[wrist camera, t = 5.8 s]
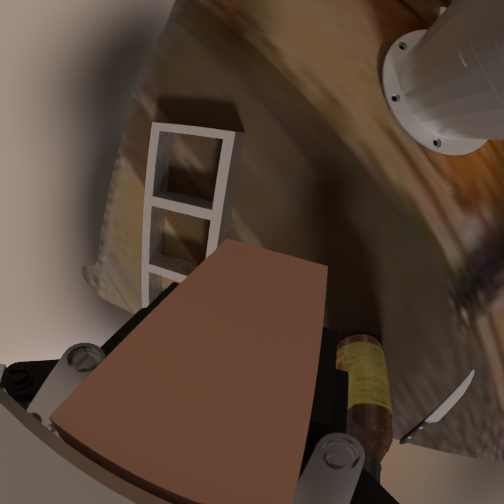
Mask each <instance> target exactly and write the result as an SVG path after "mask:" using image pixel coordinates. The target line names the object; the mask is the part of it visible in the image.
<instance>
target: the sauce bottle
mask: <svg viewBox="0 0 504 504" xmlns="http://www.w3.org/2000/svg"><path fill="white" fill-rule="evenodd" d="M336 369H339V370H344V371H348V374H349V387H348V413H347V429H346V434H348V435H350V436H352V437H354V438H355V439H356V440H357V441H359V442H360V444H361V445H362V447H363V449H364V453H365V460H364V464H363V467H364V468H365V469H366V470H367V471H368V472H369V473H370V474H371V475H372V477H373V478H374V479H375V480H376V481H377V482H378V483H379V484H380V471H381V464H380V462H381V460H382V459H383V457H384V456H385V454H386V452H388V450H389V448H390V445H391V443H392V436H393V430H392V423H391V419H392V408H391V398H390V390H389V381H388V374H387V367H386V361H385V355H384V352H383V349H382V346H381V344H380V342H378V340H377V339H376V338H374V337H373V336H370V335H368V334H355V335H351V336H348V337H346V338H344V339H343V340H342V341H340V343H339V344H338V345H337V356H336Z"/></svg>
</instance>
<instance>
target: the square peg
mask: <svg viewBox="0 0 504 504" xmlns="http://www.w3.org/2000/svg"><path fill="white" fill-rule="evenodd" d="M327 272H328V266H325V265H321V264H318V263H314V262H311V261H307V260H303V259H300V258H296V257H292V256H289V255H285V254H281V253H278V252H274V251H270V250H267V249H263V248H259V247H256V246H252V245H248V244H245V243H241V242H237V241H233V240H230V239H226V240H225V241H224V242H223V243H222V244H221V245H220V246H219V247H218V248H217V249H216V250H215V251H214V252H213V253H212V254H210V255H209V256H208V257H207V258H206V259H205V260H204V261H203V262H202V263H201V264H200V265H199V266H198V267H197V268H196V269H195V270H194V271H193V272H192V273H191V274H190V275H189V276H187V277H186V278H185V279H184V280H183V281H182V282H181V283H180V284H179V285H178V286H177V287H176V288H175V289H174V290H173V291H172V292H171V293H170V294H169V295H168V296H167V297H166V298H165V299H164V300H163V301H162V302H161V303H160V304H159V305H158V306H157V307H156V308H155V309H154V310H153V311H152V312H151V313H150V314H149V315H148V316H147V317H146V318H145V319H144V320H143V321H142V322H141V323H140V324H139V325H138V326H137V327H136V328H135V329H134V330H133V331H132V332H131V333H130V334H129V335H128V336H127V337H126V338H125V339H124V340H123V341H122V342H121V343H120V344H119V345H118V346H117V347H116V348H115V349H114V350H113V351H112V352H111V353H110V354H109V355H108V356H107V357H106V358H105V359H104V360H103V361H102V362H101V363H100V364H99V365H98V366H97V367H96V368H95V369H94V370H93V371H92V372H91V373H90V374H89V376H88V377H87V378H86V379H85V380H84V381H83V382H82V383H81V384H80V385H79V386H78V387H77V388H76V389H75V390H74V391H73V392H72V393H71V394H70V395H69V397H68V398H67V399H66V400H65V401H64V402H63V403H62V404H61V405H60V406H59V407H58V408H57V409H56V410H55V411H54V413H53V414H52V415H51V416H50V417H49V419H50V421H51V422H52V424H53V426H54V427H55V429H56V430H57V432H58V434H59V435H60V437H61V438H62V439H63V440H65V442H66V443H67V444H68V445H69V446H71V447H72V448H74V449H75V450H76V451H78V452H79V453H81V454H82V455H84V456H85V457H87V458H88V459H90V460H91V461H93V462H94V463H96V464H98V465H99V466H101V467H102V468H104V469H106V470H107V471H109V472H111V473H112V474H114V475H116V476H117V477H119V478H121V479H123V480H125V481H126V482H128V483H130V484H132V485H134V486H136V487H138V488H140V489H142V490H144V491H146V492H148V493H150V494H152V495H154V496H156V497H158V498H161V499H163V500H165V501H167V502H170V503H172V504H292V502H293V498H294V494H295V490H296V486H297V481H298V477H299V473H300V468H301V463H302V459H303V454H304V449H305V444H306V438H307V433H308V427H309V422H310V416H311V410H312V404H313V398H314V391H315V385H316V378H317V370H318V363H319V355H320V347H321V338H322V329H323V319H324V309H325V298H326V286H327Z"/></svg>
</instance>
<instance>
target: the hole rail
mask: <svg viewBox="0 0 504 504" xmlns="http://www.w3.org/2000/svg"><path fill="white" fill-rule="evenodd" d="M174 133H183V134H191V135H198V136H206V137H213V138H219V139H223V143H222V149H221V155H220V161H219V167H218V174H217V180H216V187H215V194H214V200H213V201H210V200H206V199H201V198H197V197H192V196H188V195H183V194H179V193H174V192H169V191H167V190H168V180H169V171H170V163H171V155H172V147H173V140H174ZM244 137H245V133H242V132H235V131H229V130H222V129H215V128H208V127H200V126H192V125H182V124H172V123H157V122H152V128H151V136H150V144H149V152H148V161H147V171H146V182H145V195H144V210H143V230H142V308H146V307H147V306H148V305H149V304H151V303H152V302H153V301H154V300H155V299H156V298H157V297H158V296H159V295H160V294H161V278H162V276H163V277H166V278H169V279H172V280H175V281H178V282H182V281H183V280H184V279H185V278H186V277H187V276H189V275H190V274H191V273H192V272H193V271H194V270H195V269H196V268H197V267H198V266H199V265H197V264H194V263H190V262H187V261H184V260H180V259H177V258H174V257H171V256H167V255H164V254H163V238H164V223H165V211H166V209H167V210H171V211H175V212H180V213H184V214H188V215H192V216H196V217H200V218H204V219H208V220H211V222H210V229H209V237H208V244H207V252H206V258H207V257H208V256H209V255H210V254H212V253H213V252H214V251H215V250H216V249H217V248H218V247H219V246H220V245H221V244H222V243H223V242H224V241H225V240H226V239H227V236H228V230H229V224H230V218H231V212H232V206H233V200H234V194H235V188H236V182H237V176H238V170H239V164H240V159H241V153H242V148H243V142H244Z"/></svg>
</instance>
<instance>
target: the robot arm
mask: <svg viewBox="0 0 504 504" xmlns="http://www.w3.org/2000/svg"><path fill="white" fill-rule="evenodd" d="M399 47H402V48H403V50H402V49H400V48H399ZM382 87H383V92H384V96H385V99H386V102H387V104H388V107H389V109H390V111H391V113H392V114H393V116H394V118H395V120H396V121H397V122H398V124H399V125H400V126H401V127H402V129H403V130H404V131H405V132H406V133H407V134H408V135H409V136H410V137H411V138H412V139H413V140H415V141H416V142H418V143H419V144H421V145H422V146H424V147H425V148H428V149H430V150H432V151H434V152H438V153H442V154H446V155H465V154H468V153H471V152H474V151H475V150H477V149H478V148H480V147H481V146H483V145H484V144H485V143H486V142H487V140H488V139H490V140H504V0H454V1H453V2H452V3H451V4H450V5H449V6H448V7H447V8H445V7H439V8H438V19H437V20H436V21H435V22H434V23H433V25H432V26H431V27H430V28H429V29H428V30H415V31H412V32H409V33H406V34H405V35H403V36H401V37H400V38H398V39H397V40H396V41H395V42H394V44H393V45H392V46H391V47H390V49H389V50H388V52H387V54H386V57H385V59H384V62H383V67H382ZM392 97H395V98H396V101H393V100H392ZM434 140H435V141H436V145H435V146H434V144H433V141H434ZM178 285H179V283H176V282H173V283H172V284H171V285H170V286H169V287H168V288H167V289H165V290H164V291H163V292H162V293H161V294H160V295H159V296H158V297H157V298H156V299H155V300H154V301H153V302H152V303H151V304H149V305H148V306H147V307H146V308H142V309H141V310H139V311H138V312H137V313H136V314H135V315H134V316H133V317H132V318H131V319H130V320H129V321H128V322H127V323H126V324H125V325H123V326H122V327H121V328H120V329H119V330H118V331H117V332H116V333H115V334H114V335H113V336H112V337H111V338H110V339H109V340H108V341H107V342H106V343H105V344H104V345H103V346H101V347H100V348H99V347H98V346H96V345H94V344H91V343H79V344H75V345H73V346H72V347H70V348H68V349H67V350H66V352H65V353H64V354H63V356H62V357H61V359H58V360H45V361H29V362H17V363H14V364H11V365H10V366H8V367H6V365H4V364H0V504H172V503H170V502H167V501H165V500H163V499H161V498H158V497H156V496H154V495H152V494H150V493H148V492H146V491H144V490H142V489H140V488H138V487H136V486H134V485H132V484H130V483H128V482H126V481H125V480H123V479H121V478H119V477H117V476H116V475H114V474H112V473H111V472H109V471H107V470H106V469H104V468H102V467H101V466H99V465H98V464H96V463H94V462H93V461H91V460H90V459H88V458H87V457H85V456H84V455H82V454H81V453H79V452H78V451H76V450H75V449H74V448H72V447H71V446H69V445H68V444H67V443H66V442H65V440H63V439H62V438H61V437H60V435H59V434H58V432H57V430H56V429H55V427H54V426H53V424H52V422H51V421H50V419H49V417H50V416H51V415H52V414H53V413H54V411H55V410H56V409H57V408H58V407H59V406H60V405H61V404H62V403H63V402H64V401H65V400H66V399H67V398H68V397H69V395H70V394H71V393H72V392H73V391H74V390H75V389H76V388H77V387H78V386H79V385H80V384H81V383H82V382H83V381H84V380H85V379H86V378H87V377H88V376H89V374H90V373H91V372H92V371H93V370H94V369H95V368H96V367H97V366H98V365H99V364H100V363H101V362H102V361H103V360H104V359H105V358H106V357H107V356H108V355H109V354H110V353H111V352H112V351H113V350H114V349H115V348H116V347H117V346H118V345H119V344H120V343H121V342H122V341H123V340H124V339H125V338H126V337H127V336H128V335H129V334H130V333H131V332H132V331H133V330H134V329H135V328H136V327H137V326H138V325H139V324H140V323H141V322H142V321H143V320H144V319H145V318H146V317H147V316H148V315H149V314H150V313H151V312H152V311H153V310H154V309H155V308H156V307H157V306H158V305H159V304H160V303H161V302H162V301H163V300H164V299H165V298H166V297H167V296H168V295H169V294H170V293H171V292H172V291H173V290H174V289H175V288H176V287H177V286H178ZM337 334H338V333H337V330H333V329H329V328H325V327H323V329H322V338H321V347H320V355H319V363H318V370H317V378H316V385H315V391H314V398H313V404H312V410H311V416H310V422H309V427H308V433H307V438H306V444H305V449H304V454H303V459H302V463H301V468H300V473H299V477H298V481H297V486H296V490H295V494H294V498H293V502H292V504H399V503H398V502H397V501H396V500H395V499H394V498H393V497H392V496H391V495H390V494H389V493H388V492H387V491H386V490H385V489H384V488H383V487H382V486H381V485H380V484H379V483H378V482H377V481H376V480H375V479H374V478H373V477H372V475H371V474H370V473H369V472H368V471H367V470H366V469H365V468H364V467H363V464H364V460H365V453H364V449H363V447H362V445H361V444H360V442H359V441H357V440H356V439H355V438H354V437H352V436H350V435H348V434H346V429H347V413H348V387H349V374H348V371H344V370H339V369H336V356H337Z"/></svg>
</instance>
